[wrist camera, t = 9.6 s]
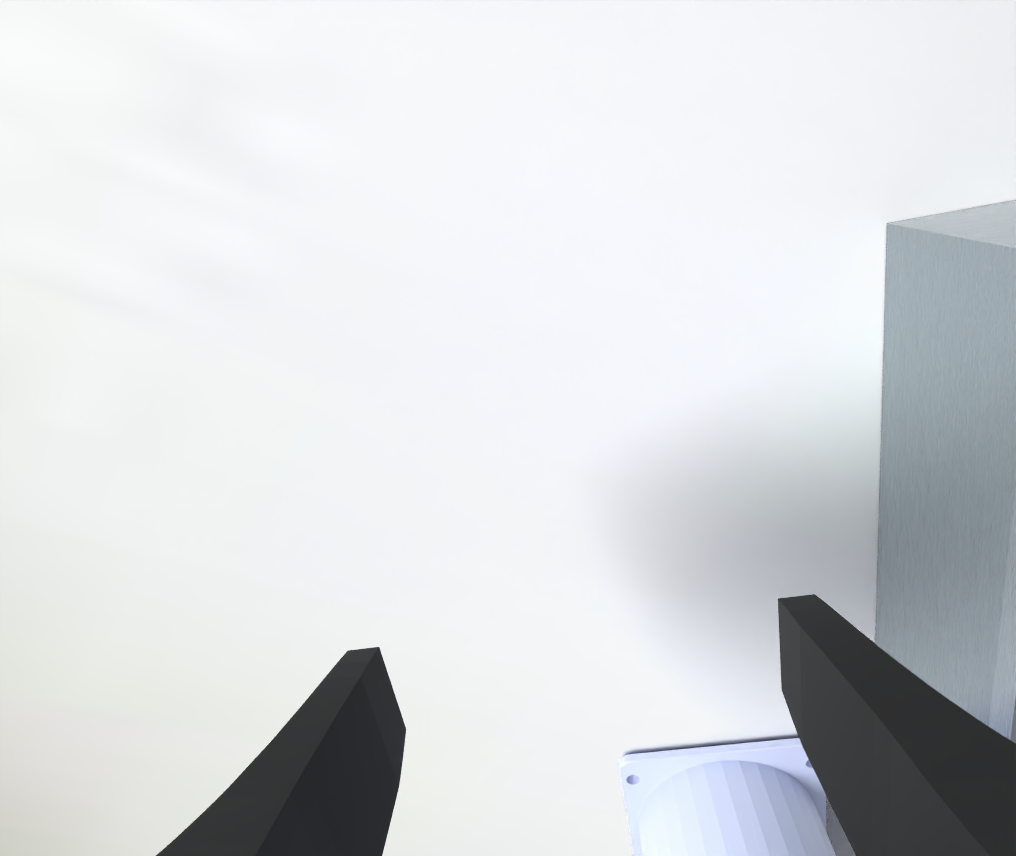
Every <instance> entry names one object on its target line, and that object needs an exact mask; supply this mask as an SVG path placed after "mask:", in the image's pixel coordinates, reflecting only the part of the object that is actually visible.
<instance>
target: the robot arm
mask: <svg viewBox="0 0 1016 856" xmlns="http://www.w3.org/2000/svg"><path fill="white" fill-rule="evenodd" d="M778 609H779V634H780V658H781V683H782V692H783V694H784V697H785V700H786V703H787V706H788V708H789V711H790V714H791V717H792V720H793V723H794V725H795V728H796V731H797V733H798V736H799V738H792V739H781V740H771V741H761V742H751V743H740V744H730V745H720V746H709V747H699V748H689V749H678V750H668V751H658V752H648V753H637V754H628V755H624V756H623V757H621V758H620V759H619V761H618V769H619V775H620V781H621V787H622V793H623V799H624V805H625V810H626V816H627V822H628V828H629V834H630V840H631V845H632V851H633V856H836V854H835V851H834V849H833V847H832V844H831V842H830V840H829V837H828V835H827V832H826V796H827V798H828V800H829V802H830V804H831V806H832V808H833V810H834V812H835V814H836V816H837V818H838V820H839V822H840V824H841V826H842V828H843V830H844V832H845V834H846V836H847V838H848V840H849V842H850V844H851V846H852V848H853V850H854V852H855V854H856V856H1016V743H1014V742H1013V741H1011V740H1009V739H1008V738H1006V737H1004V736H1003V735H1001V734H1000V733H998V732H996V731H995V730H993V729H992V728H990V727H989V726H987V725H986V724H984V723H983V722H981V721H979V720H978V719H977V718H975V717H974V716H972V715H971V714H969V713H968V712H966V711H965V710H963V709H962V708H961V707H959V706H958V705H956V704H955V703H953V702H952V701H950V700H949V699H948V698H946V697H945V696H943V695H942V694H941V693H939V692H938V691H936V690H935V689H934V688H932V687H931V686H930V685H928V684H927V683H926V682H924V681H923V680H922V679H920V678H919V677H918V676H916V675H915V674H914V673H912V672H911V671H910V670H908V669H907V668H906V667H904V666H903V665H902V664H900V663H899V662H898V661H897V660H895V659H894V658H893V657H891V656H890V655H889V654H888V653H886V652H885V651H884V650H882V649H881V648H880V647H879V646H877V645H876V644H875V643H874V642H872V641H871V640H870V639H869V638H868V637H866V636H865V635H864V634H863V633H861V632H860V631H859V630H858V629H856V628H855V627H854V626H853V625H852V624H850V623H849V622H848V621H847V620H846V619H844V618H843V617H842V616H841V615H840V614H838V613H837V612H836V611H835V610H834V609H832V608H831V607H830V606H829V605H828V604H826V603H825V602H824V601H823V600H821V599H820V598H819V597H817V596H816V595H815V594H813V595H805V596H797V597H788V598H780V599H778ZM405 734H406V728H405V725H404V722H403V718H402V715H401V712H400V709H399V706H398V703H397V700H396V697H395V694H394V691H393V688H392V685H391V682H390V679H389V676H388V673H387V670H386V667H385V664H384V661H383V657H382V654H381V651H380V648H379V647H375V648H367V649H359V650H350V651H347V652H346V654H345V655H344V656H343V657H342V658H341V659H340V660H339V662H338V663H337V664H336V665H335V666H334V667H333V669H332V670H331V671H330V672H329V674H328V675H327V676H326V677H325V678H324V680H323V681H322V682H321V683H320V684H319V686H318V687H317V688H316V689H315V690H314V692H313V693H312V694H311V695H310V696H309V698H308V699H307V700H306V701H305V703H304V704H303V705H302V706H301V707H300V708H299V710H298V711H297V712H296V713H295V714H294V715H293V717H292V718H291V719H290V720H289V721H288V722H287V724H286V725H285V726H284V727H283V728H282V729H281V731H280V732H279V733H278V734H277V735H276V737H275V738H274V739H273V740H272V741H271V742H270V743H269V744H268V745H267V746H266V748H265V749H264V750H263V751H262V752H261V753H260V754H259V755H258V756H257V757H256V758H255V759H254V761H253V762H252V763H251V764H250V765H249V766H248V767H247V768H246V769H245V770H244V771H243V772H242V774H241V775H240V776H239V777H238V778H237V779H236V780H235V781H234V782H233V783H232V784H231V785H230V786H229V788H228V789H227V790H226V791H225V792H224V793H223V794H222V795H221V796H220V797H219V798H218V799H217V800H216V801H215V802H214V803H213V804H212V805H211V806H210V807H209V808H207V809H206V810H205V811H204V812H203V813H202V814H201V815H200V816H199V817H198V818H197V819H196V820H195V821H194V822H193V823H192V824H191V825H190V826H188V827H187V828H186V829H185V830H184V831H183V832H182V833H181V834H180V835H179V836H178V837H177V838H176V839H175V840H173V841H172V842H171V843H170V844H169V845H168V846H167V847H166V848H164V849H163V850H162V851H161V852H160V853H159V854H157V855H156V856H382V854H383V850H384V846H385V842H386V838H387V834H388V830H389V825H390V821H391V817H392V813H393V809H394V805H395V801H396V797H397V792H398V788H399V782H400V775H401V768H402V760H403V752H404V743H405ZM631 775H634V776H631Z"/></svg>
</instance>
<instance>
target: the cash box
mask: <svg viewBox="0 0 1016 856" xmlns="http://www.w3.org/2000/svg"><path fill="white" fill-rule="evenodd" d="M875 644H876V645H877V646H879V647H880V648H881V649H882V650H884V651H885V652H886V653H888V654H889V655H890V656H891V657H893V658H894V659H895V660H897V661H898V662H899V663H900V664H902V665H903V666H904V667H906V668H907V669H908V670H910V671H911V672H912V673H914V674H915V675H916V676H918V677H919V678H920V679H922V680H923V681H924V682H926V683H927V684H928V685H930V686H931V687H932V688H934V689H935V690H936V691H938V692H939V693H941V694H942V695H943V696H945V697H946V698H948V699H949V700H950V701H952V702H953V703H955V704H956V705H958V706H959V707H961V708H962V709H963V710H965V711H966V712H968V713H969V714H971V715H972V716H974V717H975V718H977V719H978V720H979V721H981V722H983V723H984V724H986V725H987V726H989V727H990V728H992V729H993V730H995V731H996V732H998V733H1000V734H1001V735H1003V736H1004V737H1006V738H1008V739H1009V740H1011V741H1013V742H1014V743H1016V200H1013V201H1008V202H1002V203H997V204H991V205H985V206H980V207H974V208H969V209H963V210H958V211H952V212H947V213H941V214H936V215H930V216H925V217H919V218H914V219H908V220H903V221H897V222H891V223H887V240H886V277H885V313H884V350H883V386H882V423H881V459H880V496H879V533H878V569H877V606H876V642H875Z"/></svg>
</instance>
